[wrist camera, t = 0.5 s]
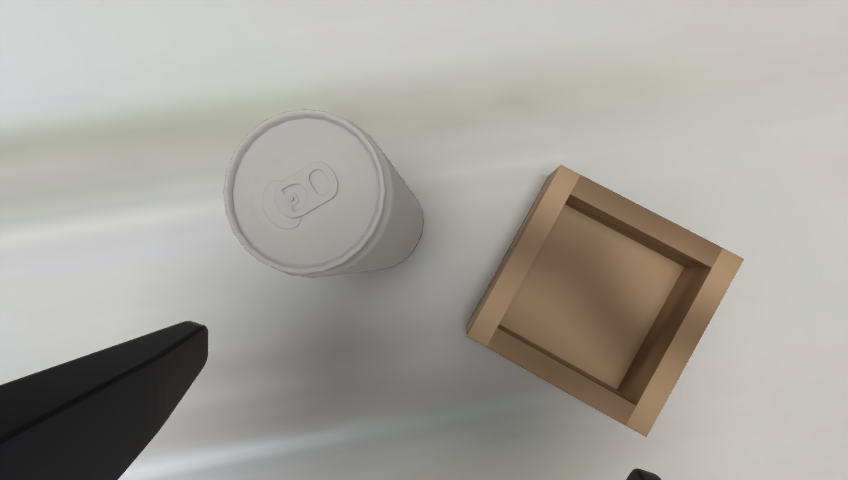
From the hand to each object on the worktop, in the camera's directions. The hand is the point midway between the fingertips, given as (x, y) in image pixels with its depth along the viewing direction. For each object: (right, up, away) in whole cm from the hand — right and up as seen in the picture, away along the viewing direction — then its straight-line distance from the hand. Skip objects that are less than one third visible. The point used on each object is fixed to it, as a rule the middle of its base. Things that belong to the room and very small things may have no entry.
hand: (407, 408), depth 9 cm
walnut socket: (+9, +1, +14) cm, 17 cm away
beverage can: (-2, +4, +15) cm, 16 cm away
